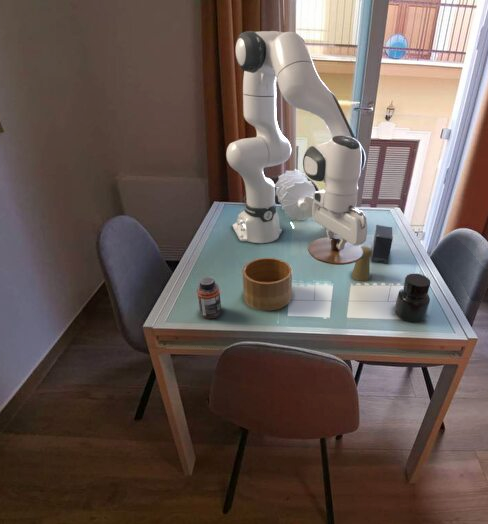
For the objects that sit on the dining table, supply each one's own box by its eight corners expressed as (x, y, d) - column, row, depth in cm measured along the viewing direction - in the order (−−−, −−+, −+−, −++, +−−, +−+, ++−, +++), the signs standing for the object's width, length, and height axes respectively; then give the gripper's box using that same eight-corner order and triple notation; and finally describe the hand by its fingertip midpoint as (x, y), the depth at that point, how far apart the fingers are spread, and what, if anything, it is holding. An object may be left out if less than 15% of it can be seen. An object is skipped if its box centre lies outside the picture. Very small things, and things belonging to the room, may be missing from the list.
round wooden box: (236, 291, 112) (234, 265, 107) (276, 278, 119) (276, 253, 115) (257, 316, 102) (256, 289, 97) (300, 301, 109) (301, 274, 104)
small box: (388, 264, 130) (393, 238, 125) (370, 261, 131) (374, 236, 126) (388, 250, 139) (393, 226, 134) (371, 248, 140) (375, 224, 135)
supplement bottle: (202, 306, 105) (197, 274, 99) (222, 306, 105) (219, 273, 100) (198, 319, 100) (194, 286, 94) (220, 319, 100) (217, 286, 94)
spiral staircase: (293, 231, 160) (281, 208, 180) (328, 213, 160) (313, 192, 180) (276, 198, 149) (266, 177, 169) (314, 179, 149) (299, 160, 169)
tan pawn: (358, 282, 119) (362, 254, 114) (348, 273, 124) (351, 245, 118) (372, 278, 122) (377, 250, 116) (362, 270, 126) (366, 242, 121)
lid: (297, 247, 106) (298, 232, 103) (339, 236, 113) (340, 221, 111) (330, 272, 94) (331, 255, 92) (373, 257, 102) (376, 241, 100)
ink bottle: (418, 303, 110) (427, 270, 104) (431, 322, 103) (441, 287, 97) (388, 305, 109) (395, 272, 103) (399, 324, 101) (407, 289, 95)
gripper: (375, 211, 90) (368, 258, 97) (327, 187, 105) (323, 230, 112) (356, 216, 87) (350, 264, 94) (309, 191, 101) (307, 235, 108)
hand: (335, 246), depth 103 cm, fingers closed on lid, 2 cm apart
